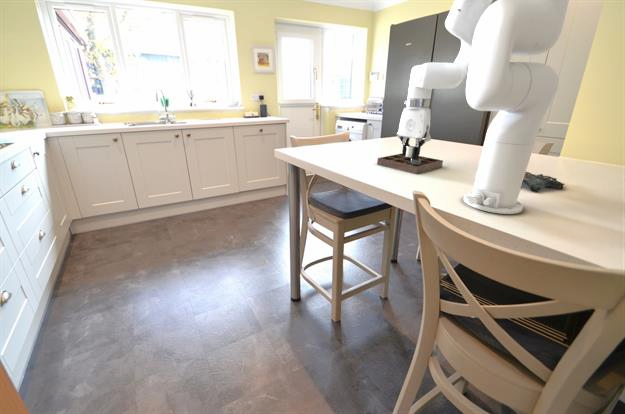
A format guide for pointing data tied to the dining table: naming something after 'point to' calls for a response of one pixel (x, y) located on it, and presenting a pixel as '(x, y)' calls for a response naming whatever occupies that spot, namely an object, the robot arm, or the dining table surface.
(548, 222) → the dining table surface
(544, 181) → the decorative rock
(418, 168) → the board
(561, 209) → the dining table surface
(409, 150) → the white stone
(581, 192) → the dining table surface
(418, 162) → the black stone
